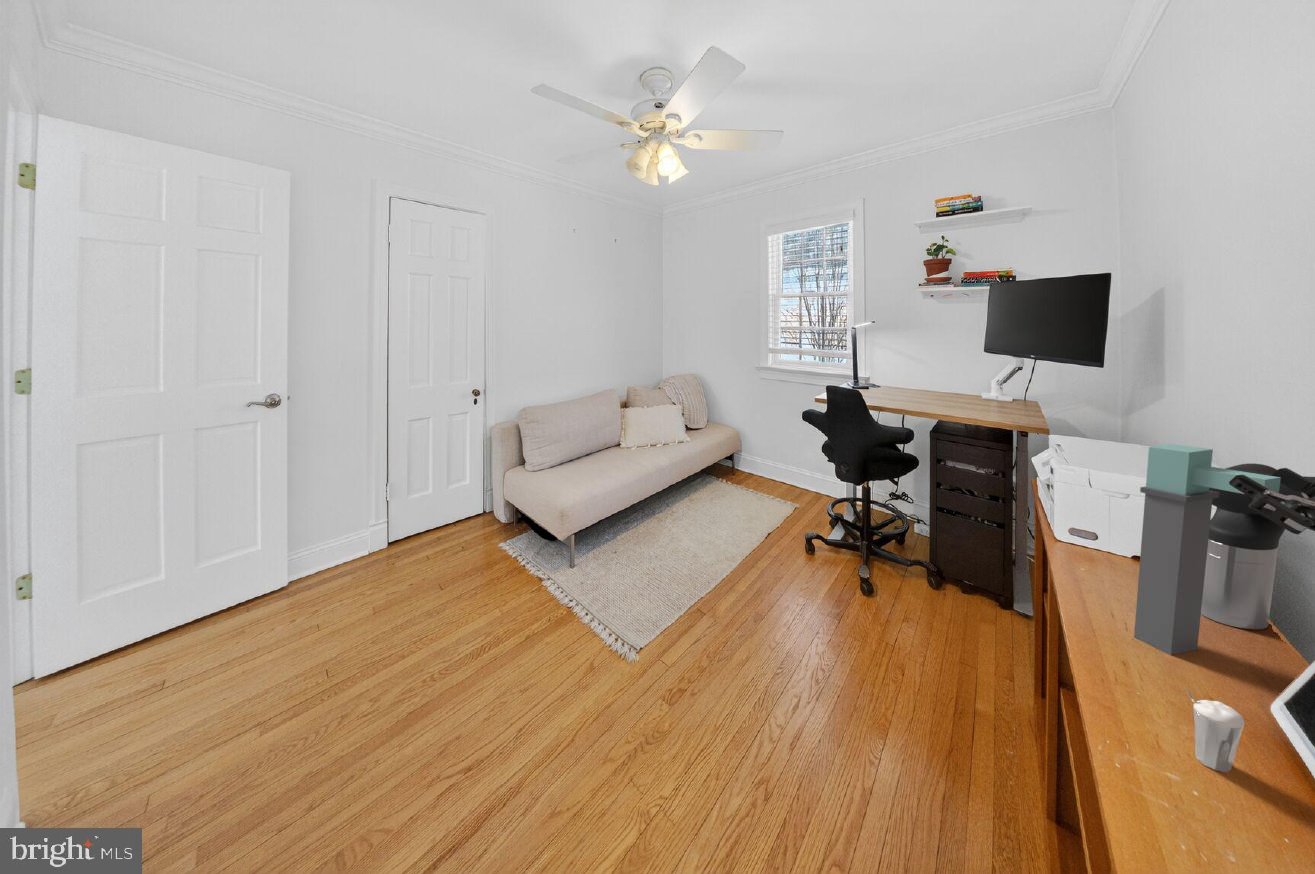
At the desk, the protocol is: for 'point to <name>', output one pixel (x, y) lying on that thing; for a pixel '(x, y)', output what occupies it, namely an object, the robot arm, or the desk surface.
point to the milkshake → (1216, 733)
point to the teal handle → (1194, 471)
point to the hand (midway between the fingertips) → (1255, 475)
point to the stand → (1172, 569)
